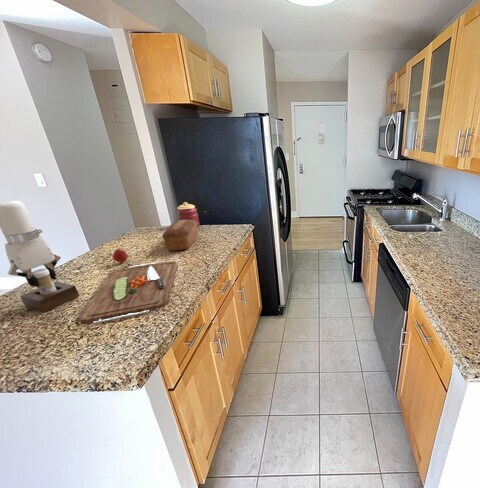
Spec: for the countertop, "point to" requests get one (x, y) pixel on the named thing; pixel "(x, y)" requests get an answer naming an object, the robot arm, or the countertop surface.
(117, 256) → the red rounded lump
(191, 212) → the kitchen canister
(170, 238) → the bread
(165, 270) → the chopping board
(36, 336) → the countertop surface
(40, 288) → the sprinkles bottle
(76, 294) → the spice block
